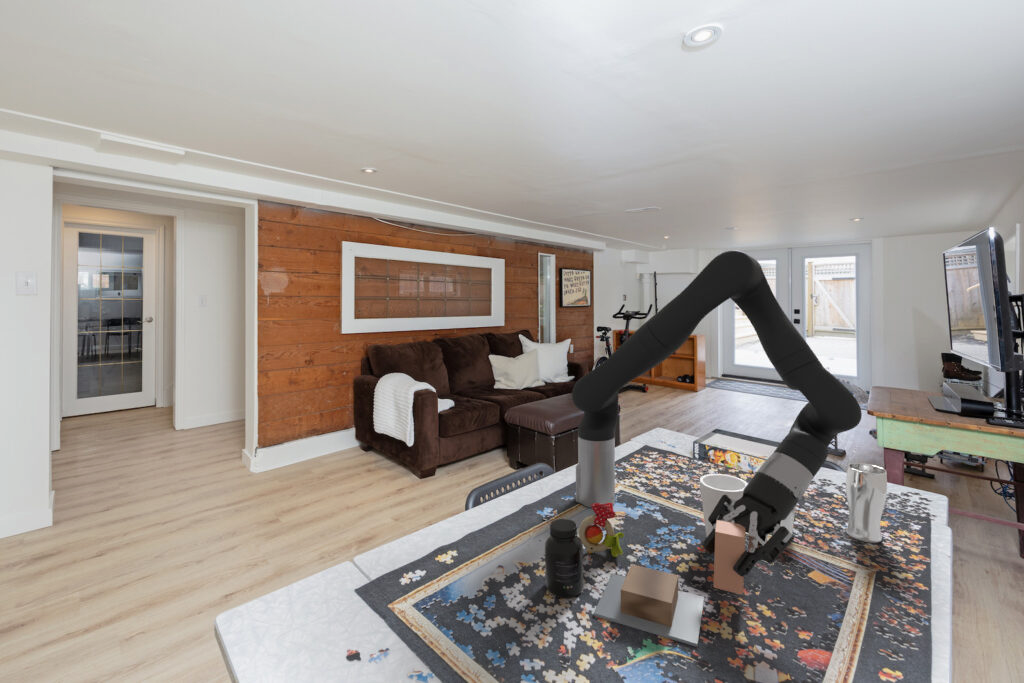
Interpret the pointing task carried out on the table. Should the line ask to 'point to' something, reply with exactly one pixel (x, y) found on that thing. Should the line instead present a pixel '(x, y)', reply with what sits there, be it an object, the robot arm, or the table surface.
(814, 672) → the table surface
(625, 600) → the base slab
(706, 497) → the foam cup
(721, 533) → the tall block
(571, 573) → the supplement bottle
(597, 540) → the bird rattle
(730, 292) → the robot arm
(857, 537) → the beer glass
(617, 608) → the building mat
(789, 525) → the milkshake
